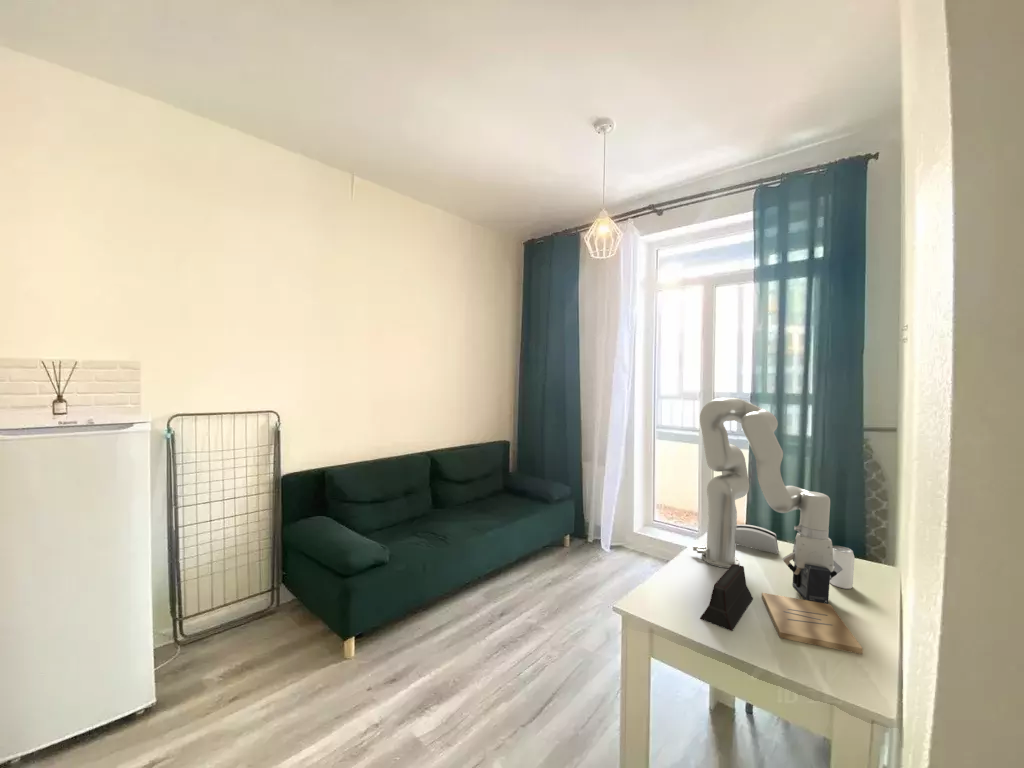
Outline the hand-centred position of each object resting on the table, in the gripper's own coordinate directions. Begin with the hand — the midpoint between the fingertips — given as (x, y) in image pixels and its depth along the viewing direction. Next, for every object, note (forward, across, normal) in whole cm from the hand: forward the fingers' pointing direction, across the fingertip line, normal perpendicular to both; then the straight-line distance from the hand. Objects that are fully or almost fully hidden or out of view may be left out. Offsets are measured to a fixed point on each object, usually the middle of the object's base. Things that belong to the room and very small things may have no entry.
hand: (810, 587), depth 138 cm
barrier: (+3, -26, -19) cm, 32 cm away
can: (+2, +12, +12) cm, 17 cm away
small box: (+2, 0, 0) cm, 2 cm away
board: (+2, -6, -19) cm, 20 cm away
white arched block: (+3, -9, +36) cm, 37 cm away
